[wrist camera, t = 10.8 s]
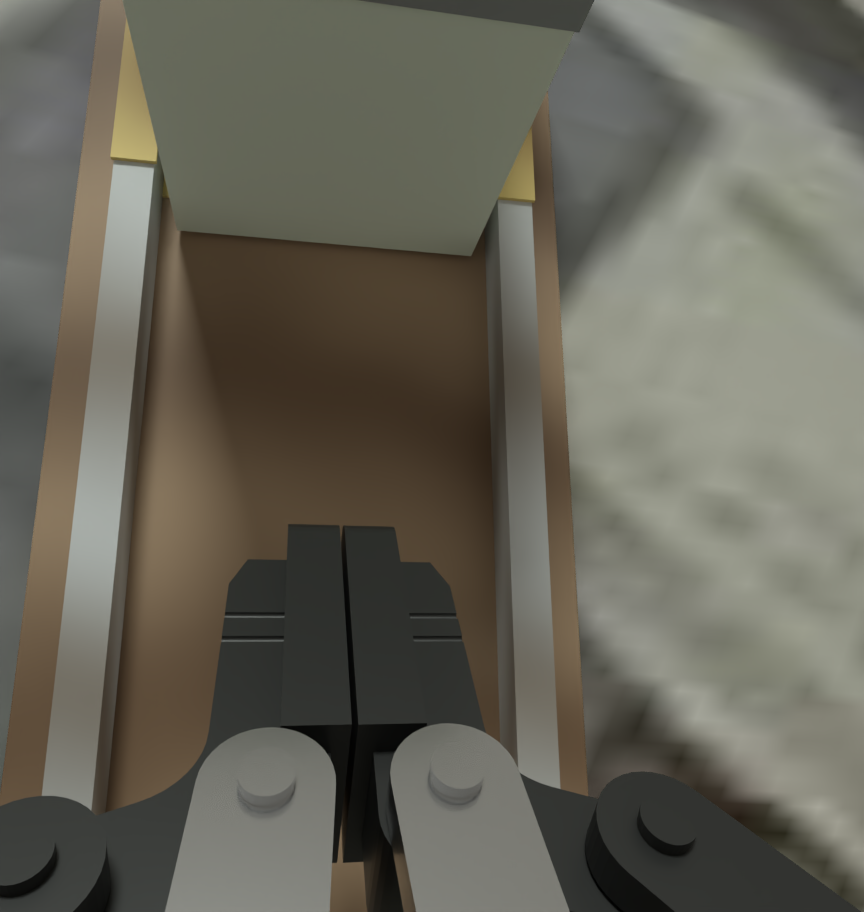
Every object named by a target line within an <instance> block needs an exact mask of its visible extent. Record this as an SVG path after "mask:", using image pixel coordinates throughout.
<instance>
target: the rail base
mask: <svg viewBox="0 0 864 912" xmlns="http://www.w3.org/2000/svg"><path fill="white" fill-rule="evenodd" d="M288 524H312V525H339V526H340V537H341V536H342V529H343V525H345V526H387V527H394V528H395V531H396V537H397V543H398V549H399V555H400V561H401V562H430V563H431V564H432V565H433V567H434V568H435V569H436V570H437V571H438V572H439V574H440V575H441V576H442V577H443V578H444V580H445V581H446V582H447V583H448V584H449V585H450V588H451V592H452V596H453V600H454V605H455V609H456V613H457V614H456V618H457V619H458V621H459V625H460V629H461V633H462V642H464V646H465V650H466V654H467V658H468V662H469V666H470V670H471V674H472V678H473V683H474V687H475V691H476V695H477V699H478V703H479V707H480V711H481V715H482V720H483V724H484V728H485V730H486V733H487V734H488V735H490V736H491V737H493V738H494V739H495V740H497V741H498V742H499V743H500V744H502V746H503V747H504V748H505V749H506V750H507V751H508V752H509V753H510V755H511V756H512V758H513V759H514V761H515V763H516V765H517V767H518V770H519V772H520V773H521V774H523V775H525V776H526V777H528V778H530V779H532V780H534V781H537V782H539V783H542V784H545V785H548V786H551V787H555V788H559V789H562V790H566V791H570V792H574V793H577V794H581V795H585V796H588V782H587V765H586V748H585V730H584V713H583V695H582V678H581V661H580V643H579V626H578V608H577V591H576V574H575V556H574V539H573V522H572V504H571V487H570V469H569V452H568V435H567V417H566V400H565V383H564V365H563V348H562V330H561V313H560V296H559V278H558V261H557V243H556V226H555V209H554V191H553V174H552V157H551V139H550V122H549V104H548V91H547V93H546V95H545V97H544V99H543V101H542V104H541V106H540V108H539V110H538V112H537V114H536V117H535V119H534V121H533V123H532V125H531V127H530V130H529V132H528V134H527V136H526V138H525V140H524V143H523V145H522V147H521V149H520V151H519V153H518V156H517V158H516V160H515V162H514V164H513V166H512V169H511V171H510V173H509V175H508V177H507V180H506V182H505V184H504V186H503V188H502V190H501V193H500V195H499V197H498V199H497V201H496V203H495V206H494V208H493V210H492V212H491V214H490V216H489V219H488V221H487V223H486V225H485V227H484V229H483V232H482V234H481V236H480V238H479V240H478V242H477V245H476V247H475V249H474V251H473V253H472V255H471V256H463V255H451V254H440V253H429V252H417V251H406V250H395V249H383V248H372V247H361V246H349V245H338V244H326V243H315V242H304V241H292V240H281V239H270V238H258V237H247V236H236V235H224V234H213V233H202V232H190V231H179V230H177V228H176V223H175V219H174V215H173V211H172V207H171V202H170V198H169V194H168V190H167V186H166V181H165V177H164V173H163V169H162V165H161V160H160V156H159V152H158V148H157V144H156V139H155V135H154V131H153V127H152V123H151V118H150V114H149V110H148V106H147V102H146V97H145V93H144V89H143V85H142V81H141V76H140V72H139V68H138V64H137V60H136V55H135V51H134V47H133V43H132V39H131V34H130V30H129V26H128V22H127V18H126V13H125V9H124V5H123V1H122V0H101V2H100V10H99V18H98V26H97V34H96V41H95V49H94V57H93V65H92V73H91V81H90V89H89V97H88V105H87V113H86V121H85V128H84V136H83V144H82V152H81V160H80V168H79V176H78V184H77V192H76V200H75V207H74V215H73V223H72V231H71V239H70V247H69V255H68V263H67V271H66V279H65V286H64V294H63V302H62V310H61V318H60V326H59V334H58V342H57V350H56V358H55V365H54V373H53V381H52V389H51V397H50V405H49V413H48V421H47V429H46V437H45V444H44V452H43V460H42V468H41V476H40V484H39V492H38V500H37V508H36V516H35V524H34V531H33V539H32V547H31V555H30V563H29V571H28V579H27V587H26V595H25V603H24V610H23V618H22V626H21V634H20V642H19V650H18V658H17V666H16V674H15V682H14V689H13V697H12V705H11V713H10V721H9V729H8V737H7V745H6V753H5V761H4V768H3V776H2V784H1V792H0V806H2V805H5V804H7V803H10V802H12V801H16V800H20V799H24V798H28V797H36V796H58V797H64V798H69V799H71V800H74V801H77V802H79V803H81V804H83V805H84V806H86V807H88V808H89V809H90V810H91V811H92V812H93V813H94V814H95V815H99V814H102V813H106V812H109V811H112V810H115V809H118V808H121V807H124V806H127V805H130V804H134V803H137V802H140V801H142V800H145V799H147V798H150V797H152V796H154V795H156V794H158V793H160V792H162V791H164V790H166V789H167V788H169V787H170V786H172V785H173V784H174V783H176V782H177V781H178V780H180V779H181V778H182V777H183V776H184V775H185V774H186V773H187V772H188V771H189V770H190V769H191V768H192V767H193V765H194V764H195V763H196V761H197V760H198V758H199V757H200V755H201V754H202V751H203V749H204V747H205V744H206V741H207V737H208V733H209V725H210V718H211V711H212V703H213V696H214V689H215V681H216V674H217V667H218V659H219V652H220V645H221V640H222V630H223V623H224V618H225V608H226V601H227V593H228V586H229V583H230V581H231V580H232V579H233V578H234V576H235V575H236V574H237V573H238V571H239V570H240V569H241V567H242V566H243V565H244V564H245V562H246V561H247V560H248V559H262V560H287V539H288ZM329 912H367V906H366V894H365V879H364V863H363V862H351V863H343V854H342V830H341V831H340V840H339V850H338V859H337V863H332V873H331V892H330V911H329Z"/></svg>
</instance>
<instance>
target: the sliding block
mask: <svg viewBox="0 0 864 912" xmlns="http://www.w3.org/2000/svg"><path fill="white" fill-rule="evenodd" d="M122 1H123V5H124V9H125V13H126V18H127V22H128V26H129V30H130V34H131V39H132V43H133V47H134V51H135V55H136V60H137V64H138V68H139V72H140V76H141V81H142V85H143V89H144V93H145V97H146V102H147V106H148V110H149V114H150V118H151V123H152V127H153V131H154V135H155V139H156V144H157V148H158V152H159V156H160V160H161V165H162V169H163V173H164V177H165V181H166V186H167V190H168V194H169V198H170V202H171V207H172V211H173V215H174V219H175V223H176V228H177V230H179V231H190V232H202V233H213V234H224V235H236V236H247V237H258V238H270V239H281V240H292V241H304V242H315V243H326V244H338V245H349V246H361V247H372V248H383V249H395V250H406V251H417V252H429V253H440V254H451V255H463V256H471V255H472V253H473V251H474V249H475V247H476V245H477V242H478V240H479V238H480V236H481V234H482V232H483V229H484V227H485V225H486V223H487V221H488V219H489V216H490V214H491V212H492V210H493V208H494V206H495V203H496V201H497V199H498V197H499V195H500V193H501V190H502V188H503V186H504V184H505V182H506V180H507V177H508V175H509V173H510V171H511V169H512V166H513V164H514V162H515V160H516V158H517V156H518V153H519V151H520V149H521V147H522V145H523V143H524V140H525V138H526V136H527V134H528V132H529V130H530V127H531V125H532V123H533V121H534V119H535V117H536V114H537V112H538V110H539V108H540V106H541V104H542V101H543V99H544V97H545V95H546V93H547V91H548V88H549V86H550V84H551V82H552V80H553V78H554V75H555V73H556V71H557V69H558V67H559V64H560V62H561V60H562V58H563V56H564V54H565V51H566V49H567V47H568V45H569V43H570V41H571V38H572V36H573V34H574V32H580V29H581V27H582V25H583V23H584V21H585V19H586V17H587V14H588V12H589V10H590V8H591V6H592V4H593V2H594V0H122Z"/></svg>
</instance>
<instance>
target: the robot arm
mask: <svg viewBox="0 0 864 912" xmlns="http://www.w3.org/2000/svg"><path fill="white" fill-rule="evenodd" d="M456 614H457V613H456V609H455V605H454V600H453V596H452V592H451V588H450V585H449V584H448V583H447V582H446V581H445V580H444V578H443V577H442V576H441V575H440V574H439V572H438V571H437V570H436V569H435V568H434V567H433V565H432V564H431V563H430V562H401V561H400V555H399V549H398V543H397V537H396V531H395V528H394V527H387V526H345V525H343V529H342V536H341V537H340V526H339V525H312V524H288V539H287V560H262V559H248V560H247V561H246V562H245V564H244V565H243V566H242V567H241V569H240V570H239V571H238V573H237V574H236V575H235V576H234V578H233V579H232V580H231V581H230V583H229V586H228V593H227V601H226V608H225V618H224V623H223V630H222V640H221V645H220V652H219V659H218V667H217V674H216V681H215V689H214V696H213V703H212V711H211V718H210V725H209V733H208V737H207V741H206V744H205V747H204V749H203V751H202V754H201V755H200V757H199V758H198V760H197V761H196V763H195V764H194V765H193V767H192V768H191V769H190V770H189V771H188V772H187V773H186V774H185V775H184V776H183V777H182V778H181V779H180V780H178V781H177V782H176V783H174V784H173V785H172V786H170V787H169V788H167V789H166V790H164V791H162V792H160V793H158V794H156V795H154V796H152V797H150V798H147V799H145V800H142V801H140V802H137V803H134V804H130V805H127V806H124V807H121V808H118V809H115V810H112V811H109V812H106V813H102V814H99V815H95V814H94V813H93V812H92V811H91V810H90V809H89V808H88V807H86V806H84V805H83V804H81V803H79V802H77V801H74V800H71V799H69V798H64V797H58V796H36V797H28V798H24V799H20V800H16V801H12V802H10V803H7V804H5V805H2V806H0V912H329V911H330V892H331V873H332V863H337V859H338V850H339V840H340V831H341V830H342V854H343V863H351V862H363V863H364V879H365V894H366V906H367V912H861V911H859V910H858V909H857V908H855V907H854V906H853V905H851V904H850V903H848V902H847V901H846V900H844V899H843V898H842V897H840V896H839V895H837V894H836V893H835V892H833V891H832V890H831V889H829V888H828V887H827V886H825V885H824V884H822V883H821V882H820V881H818V880H817V879H816V878H814V877H813V876H811V875H810V874H809V873H807V872H806V871H805V870H803V869H802V868H801V867H799V866H798V865H796V864H795V863H794V862H792V861H791V860H790V859H788V858H787V857H785V856H784V855H783V854H781V853H780V852H779V851H777V850H776V849H775V848H773V847H772V846H770V845H769V844H768V843H766V842H765V841H764V840H762V839H761V838H759V837H758V836H757V835H755V834H754V833H753V832H751V831H750V830H749V829H747V828H746V827H744V826H743V825H742V824H740V823H739V822H738V821H736V820H735V819H733V818H732V817H731V816H729V815H728V814H727V813H725V812H724V811H723V810H721V809H720V808H718V807H717V806H716V805H714V804H713V803H712V802H710V801H709V800H707V799H706V798H705V797H703V796H702V795H701V794H699V793H698V792H697V791H695V790H694V789H692V788H690V787H689V786H687V785H686V784H684V783H682V782H680V781H678V780H676V779H674V778H671V777H668V776H665V775H662V774H657V773H653V772H631V773H628V774H624V775H621V776H619V777H617V778H615V779H613V780H612V781H611V782H610V783H608V784H607V785H606V787H605V788H604V789H603V791H602V792H601V794H600V797H599V799H596V798H593V797H589V796H585V795H581V794H577V793H574V792H570V791H566V790H562V789H559V788H555V787H551V786H548V785H545V784H542V783H539V782H537V781H534V780H532V779H530V778H528V777H526V776H525V775H523V774H521V773H520V772H519V770H518V767H517V765H516V763H515V761H514V759H513V758H512V756H511V755H510V753H509V752H508V751H507V750H506V749H505V748H504V747H503V746H502V744H500V743H499V742H498V741H497V740H495V739H494V738H493V737H491V736H490V735H488V734H487V733H486V730H485V728H484V724H483V720H482V715H481V711H480V707H479V703H478V699H477V695H476V691H475V687H474V683H473V678H472V674H471V670H470V666H469V662H468V658H467V654H466V650H465V646H464V642H462V633H461V629H460V625H459V621H458V619H457V618H456Z"/></svg>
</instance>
